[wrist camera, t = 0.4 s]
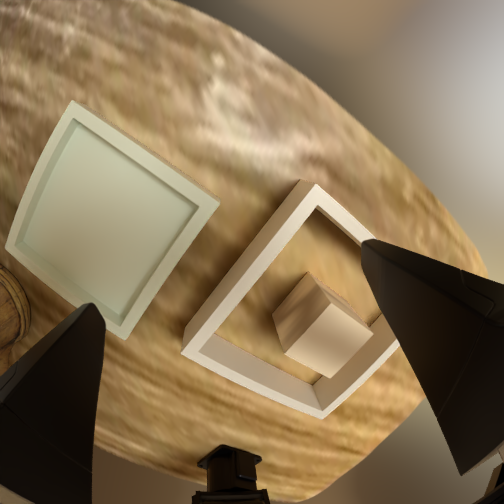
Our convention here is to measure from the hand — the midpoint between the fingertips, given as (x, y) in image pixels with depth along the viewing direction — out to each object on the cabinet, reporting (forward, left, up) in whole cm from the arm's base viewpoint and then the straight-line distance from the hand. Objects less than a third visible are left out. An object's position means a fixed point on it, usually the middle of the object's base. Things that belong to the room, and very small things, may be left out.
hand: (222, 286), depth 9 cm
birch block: (-2, -11, -15) cm, 19 cm away
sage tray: (-6, +8, -15) cm, 18 cm away
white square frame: (-2, -11, -15) cm, 19 cm away
